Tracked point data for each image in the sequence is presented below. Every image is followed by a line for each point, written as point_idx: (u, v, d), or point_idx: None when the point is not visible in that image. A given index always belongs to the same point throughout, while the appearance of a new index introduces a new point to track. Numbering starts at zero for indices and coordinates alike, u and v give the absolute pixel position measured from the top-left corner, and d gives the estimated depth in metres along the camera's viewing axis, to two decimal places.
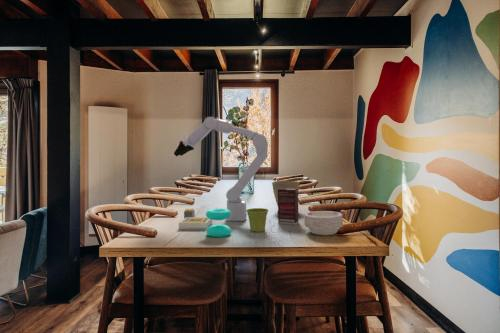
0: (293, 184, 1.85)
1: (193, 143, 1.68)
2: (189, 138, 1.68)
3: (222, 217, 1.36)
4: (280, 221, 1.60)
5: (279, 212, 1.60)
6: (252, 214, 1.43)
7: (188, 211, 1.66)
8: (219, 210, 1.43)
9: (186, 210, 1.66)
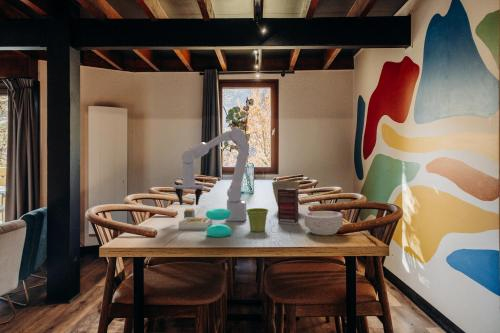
0: (293, 184, 1.85)
1: None
2: (193, 183, 1.65)
3: (222, 217, 1.36)
4: (280, 221, 1.60)
5: (279, 212, 1.60)
6: (252, 214, 1.43)
7: (188, 211, 1.66)
8: (219, 210, 1.43)
9: (186, 210, 1.66)
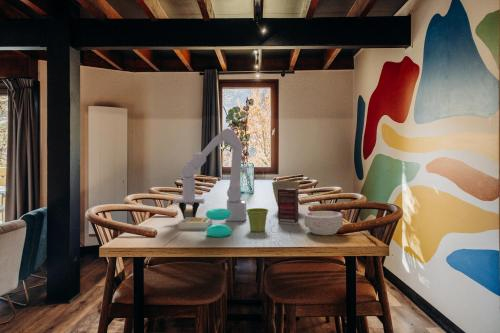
0: (293, 184, 1.85)
1: None
2: (193, 197, 1.66)
3: (222, 217, 1.36)
4: (280, 221, 1.60)
5: (279, 212, 1.60)
6: (252, 214, 1.43)
7: (188, 211, 1.66)
8: (219, 210, 1.43)
9: (186, 210, 1.66)
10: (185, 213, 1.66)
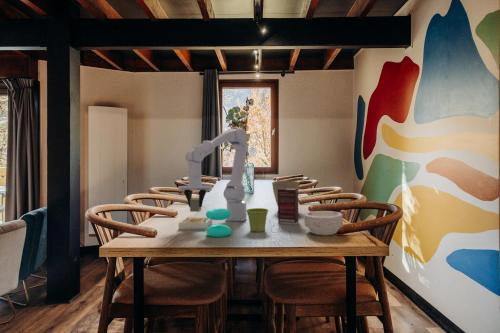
0: (293, 184, 1.85)
1: None
2: (199, 184, 1.54)
3: (222, 217, 1.36)
4: (280, 221, 1.60)
5: (279, 212, 1.60)
6: (252, 214, 1.43)
7: (194, 199, 1.54)
8: (219, 210, 1.43)
9: (192, 198, 1.54)
10: (191, 202, 1.54)
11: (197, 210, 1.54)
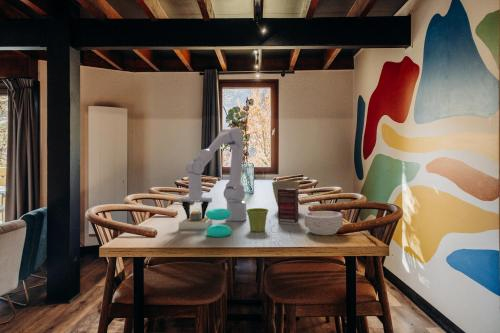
0: (293, 184, 1.85)
1: None
2: (200, 196, 1.54)
3: (222, 217, 1.36)
4: (280, 221, 1.60)
5: (279, 212, 1.60)
6: (252, 214, 1.43)
7: (195, 213, 1.54)
8: (219, 210, 1.43)
9: (192, 212, 1.55)
10: (191, 216, 1.54)
11: None
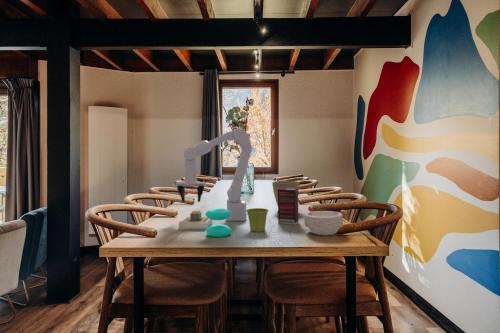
0: (293, 184, 1.85)
1: None
2: (195, 180, 1.66)
3: (222, 217, 1.36)
4: (280, 221, 1.60)
5: (279, 212, 1.60)
6: (252, 214, 1.43)
7: (195, 213, 1.54)
8: (219, 210, 1.43)
9: (192, 212, 1.55)
10: (191, 216, 1.54)
11: None
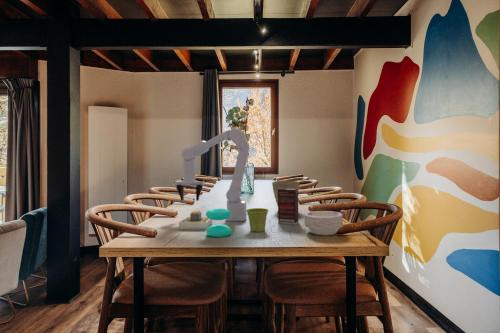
0: (293, 184, 1.85)
1: None
2: (193, 179, 1.70)
3: (222, 217, 1.36)
4: (280, 221, 1.60)
5: (279, 212, 1.60)
6: (252, 214, 1.43)
7: (195, 213, 1.54)
8: (219, 210, 1.43)
9: (192, 212, 1.55)
10: (191, 216, 1.54)
11: None
